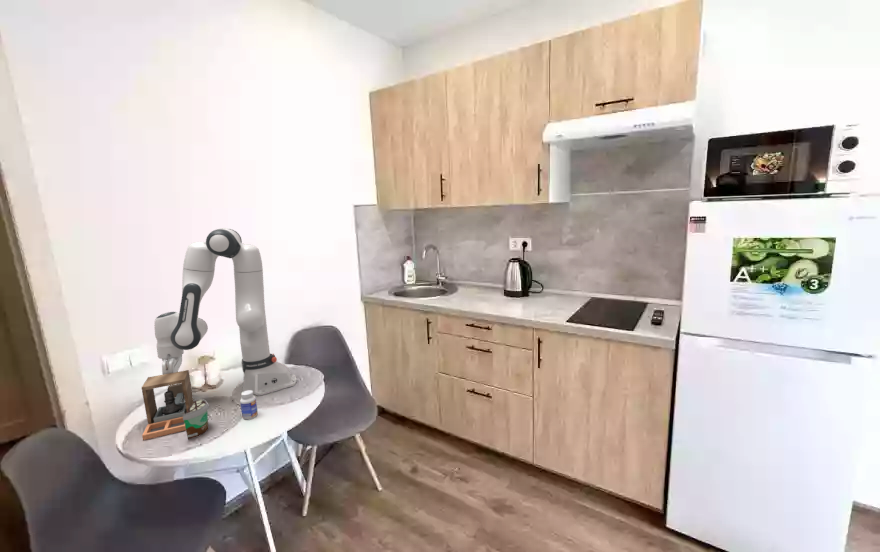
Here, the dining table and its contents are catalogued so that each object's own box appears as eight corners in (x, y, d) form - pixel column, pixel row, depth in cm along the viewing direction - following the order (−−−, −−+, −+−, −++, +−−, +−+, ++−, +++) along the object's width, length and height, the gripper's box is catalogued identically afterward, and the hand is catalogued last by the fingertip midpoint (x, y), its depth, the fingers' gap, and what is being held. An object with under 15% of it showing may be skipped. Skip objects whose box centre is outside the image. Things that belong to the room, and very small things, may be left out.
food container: (206, 438, 133) (202, 411, 132) (186, 441, 132) (182, 415, 130) (216, 420, 145) (212, 395, 143) (197, 423, 143) (193, 398, 142)
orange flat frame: (190, 419, 146) (190, 414, 146) (187, 430, 139) (186, 425, 139) (148, 429, 140) (147, 424, 140) (143, 440, 133) (142, 435, 133)
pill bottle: (255, 418, 145) (252, 395, 143) (240, 420, 144) (236, 396, 143) (259, 411, 150) (256, 388, 149) (245, 413, 149) (241, 390, 148)
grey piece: (194, 391, 169) (192, 381, 168) (185, 419, 146) (183, 407, 145) (168, 397, 165) (166, 386, 164) (154, 426, 142) (152, 413, 141)
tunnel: (194, 407, 155) (188, 369, 153) (191, 419, 147) (184, 379, 144) (155, 416, 150) (148, 377, 147) (148, 428, 141) (141, 387, 138)
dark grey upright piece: (172, 422, 145) (167, 392, 143) (159, 421, 146) (154, 391, 144) (185, 414, 150) (180, 385, 148) (173, 413, 152) (168, 384, 150)
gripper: (175, 358, 151) (179, 391, 153) (183, 342, 169) (187, 372, 171) (155, 360, 148) (160, 394, 150) (166, 345, 166) (170, 375, 168)
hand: (174, 382), depth 161 cm, fingers closed
